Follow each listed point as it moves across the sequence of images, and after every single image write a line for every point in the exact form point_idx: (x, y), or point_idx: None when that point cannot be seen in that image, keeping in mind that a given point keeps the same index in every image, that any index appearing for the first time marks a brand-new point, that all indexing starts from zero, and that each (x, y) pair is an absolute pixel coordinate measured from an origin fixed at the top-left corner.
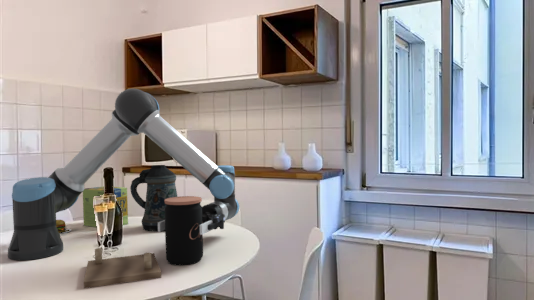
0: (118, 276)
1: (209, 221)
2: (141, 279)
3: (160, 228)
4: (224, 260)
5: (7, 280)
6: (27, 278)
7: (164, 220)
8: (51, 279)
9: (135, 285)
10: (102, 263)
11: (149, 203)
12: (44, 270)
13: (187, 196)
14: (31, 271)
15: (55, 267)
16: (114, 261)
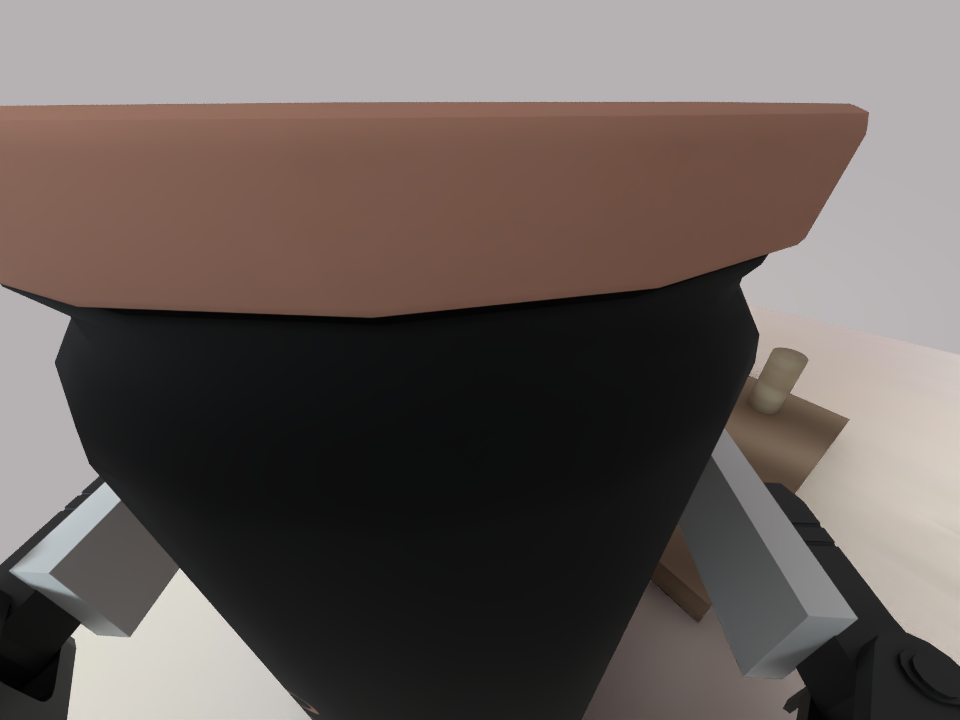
0: None
1: (99, 494)
2: None
3: None
4: (151, 695)
5: (851, 331)
6: (830, 343)
7: (723, 448)
8: (761, 348)
9: None
10: (750, 408)
11: None
12: (900, 384)
13: (475, 104)
14: (919, 373)
15: (922, 407)
16: (737, 432)
